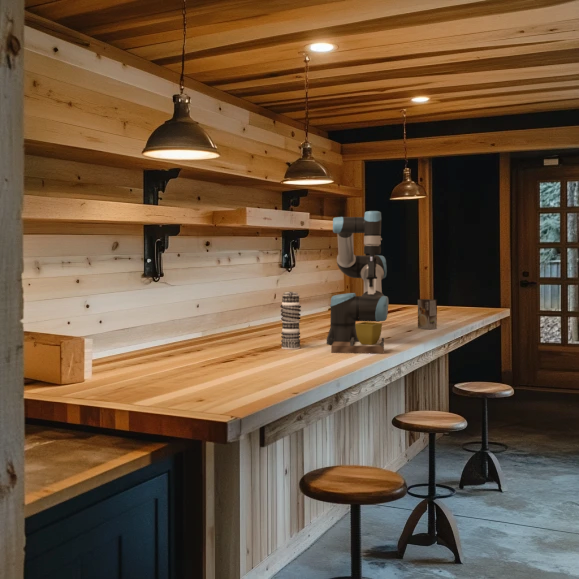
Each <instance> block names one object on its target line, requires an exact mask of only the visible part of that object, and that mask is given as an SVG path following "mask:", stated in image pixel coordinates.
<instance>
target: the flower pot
mask: <svg viewBox="0 0 579 579" xmlns="http://www.w3.org/2000/svg"><path fill="white" fill-rule="evenodd" d="M355 326H356V333H357V338H358V340H359V342H360V343H361V344H367V345H372V344H376V343H377V342H379V340H380V338H381V335H382V334H381V333H382V328H383V323H382V322H374V321H361V322H358V323H356V324H355Z"/></svg>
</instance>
